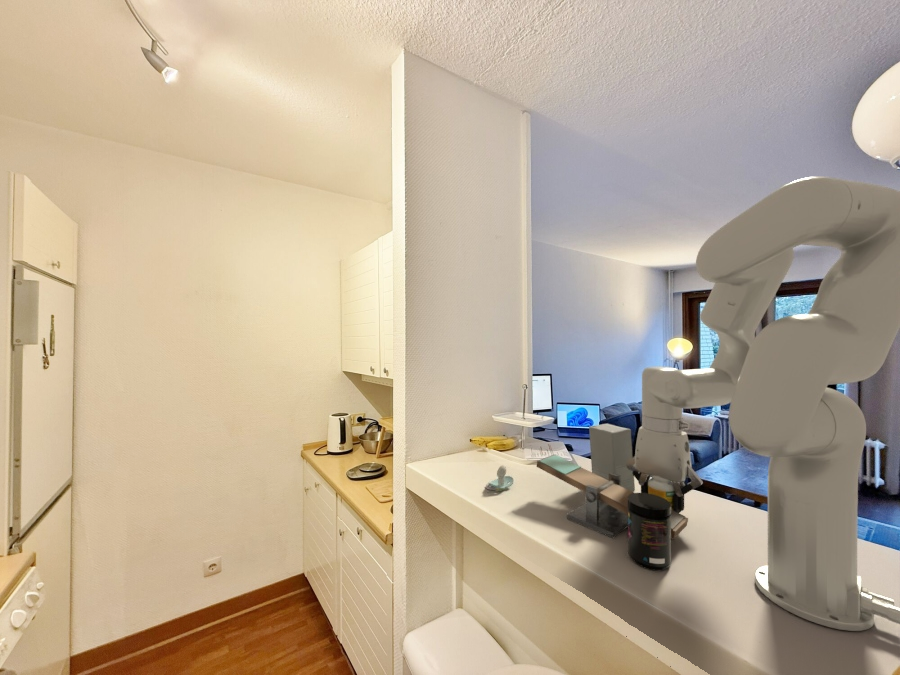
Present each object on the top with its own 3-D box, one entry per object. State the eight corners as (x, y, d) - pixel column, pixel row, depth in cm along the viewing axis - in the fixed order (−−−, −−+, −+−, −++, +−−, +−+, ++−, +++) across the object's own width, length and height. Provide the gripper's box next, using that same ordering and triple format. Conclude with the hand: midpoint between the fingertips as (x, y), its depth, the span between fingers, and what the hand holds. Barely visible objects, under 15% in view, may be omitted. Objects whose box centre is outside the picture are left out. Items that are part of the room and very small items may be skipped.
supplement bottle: (655, 507, 84) (655, 465, 84) (681, 517, 80) (681, 473, 79) (642, 514, 81) (642, 470, 81) (668, 524, 77) (668, 478, 76)
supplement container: (656, 548, 68) (656, 492, 68) (680, 572, 61) (680, 509, 61) (620, 549, 68) (620, 492, 68) (640, 573, 61) (640, 510, 61)
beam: (687, 525, 72) (689, 516, 71) (671, 542, 66) (673, 531, 66) (554, 460, 94) (556, 452, 94) (534, 468, 88) (535, 460, 88)
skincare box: (635, 492, 92) (635, 429, 92) (613, 497, 90) (613, 432, 89) (609, 480, 100) (609, 421, 100) (588, 484, 97) (588, 424, 97)
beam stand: (640, 516, 80) (640, 479, 80) (612, 538, 72) (612, 496, 72) (596, 500, 88) (596, 467, 88) (566, 518, 79) (566, 481, 79)
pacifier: (480, 489, 96) (498, 495, 91) (479, 464, 96) (497, 470, 91) (498, 481, 101) (516, 487, 96) (498, 458, 101) (515, 463, 96)
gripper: (713, 428, 76) (713, 516, 76) (628, 415, 89) (629, 490, 89) (702, 435, 71) (702, 529, 71) (614, 420, 84) (614, 499, 84)
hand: (661, 506), depth 80 cm, fingers closed on supplement bottle, 5 cm apart
